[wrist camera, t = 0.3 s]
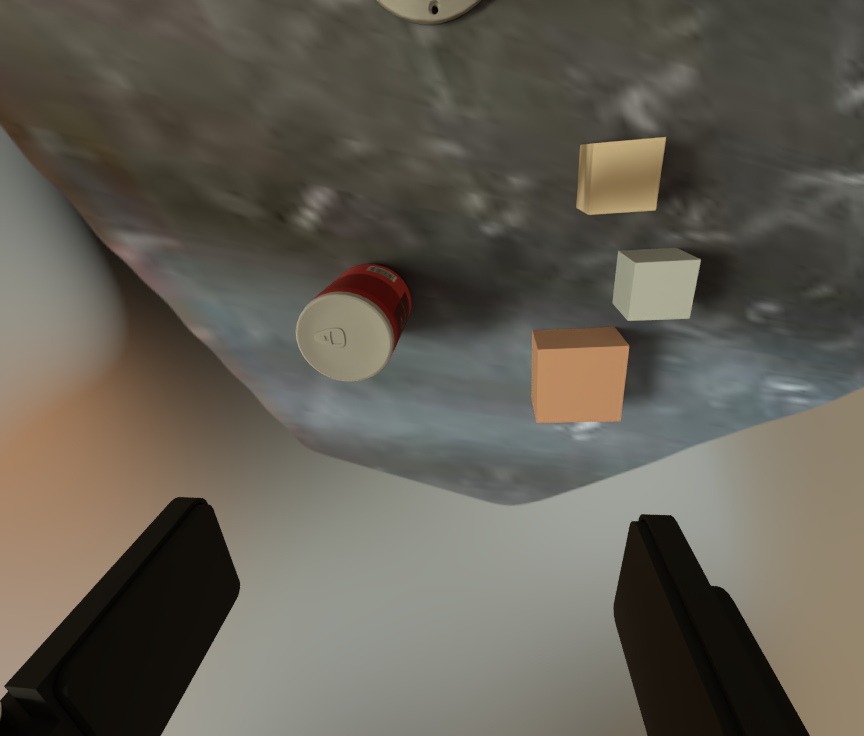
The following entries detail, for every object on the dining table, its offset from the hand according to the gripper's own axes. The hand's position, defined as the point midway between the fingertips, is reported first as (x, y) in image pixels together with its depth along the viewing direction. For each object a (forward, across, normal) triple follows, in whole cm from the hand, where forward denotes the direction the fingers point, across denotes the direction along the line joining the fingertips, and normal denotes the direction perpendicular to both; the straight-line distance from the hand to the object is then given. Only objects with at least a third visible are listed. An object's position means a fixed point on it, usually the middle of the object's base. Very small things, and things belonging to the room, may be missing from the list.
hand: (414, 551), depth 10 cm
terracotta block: (+35, -11, +12) cm, 39 cm away
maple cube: (+35, -12, -6) cm, 37 cm away
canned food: (+35, +9, +5) cm, 37 cm away
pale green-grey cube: (+35, -16, +3) cm, 39 cm away
